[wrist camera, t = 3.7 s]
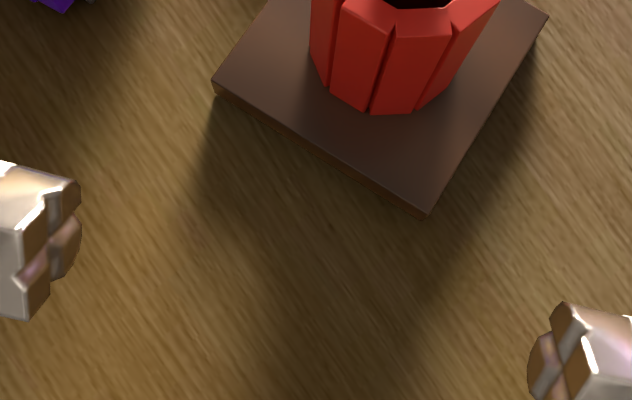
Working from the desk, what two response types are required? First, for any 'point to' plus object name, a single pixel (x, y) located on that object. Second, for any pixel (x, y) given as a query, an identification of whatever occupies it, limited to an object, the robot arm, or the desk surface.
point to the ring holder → (362, 128)
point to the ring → (392, 49)
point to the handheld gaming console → (60, 4)
